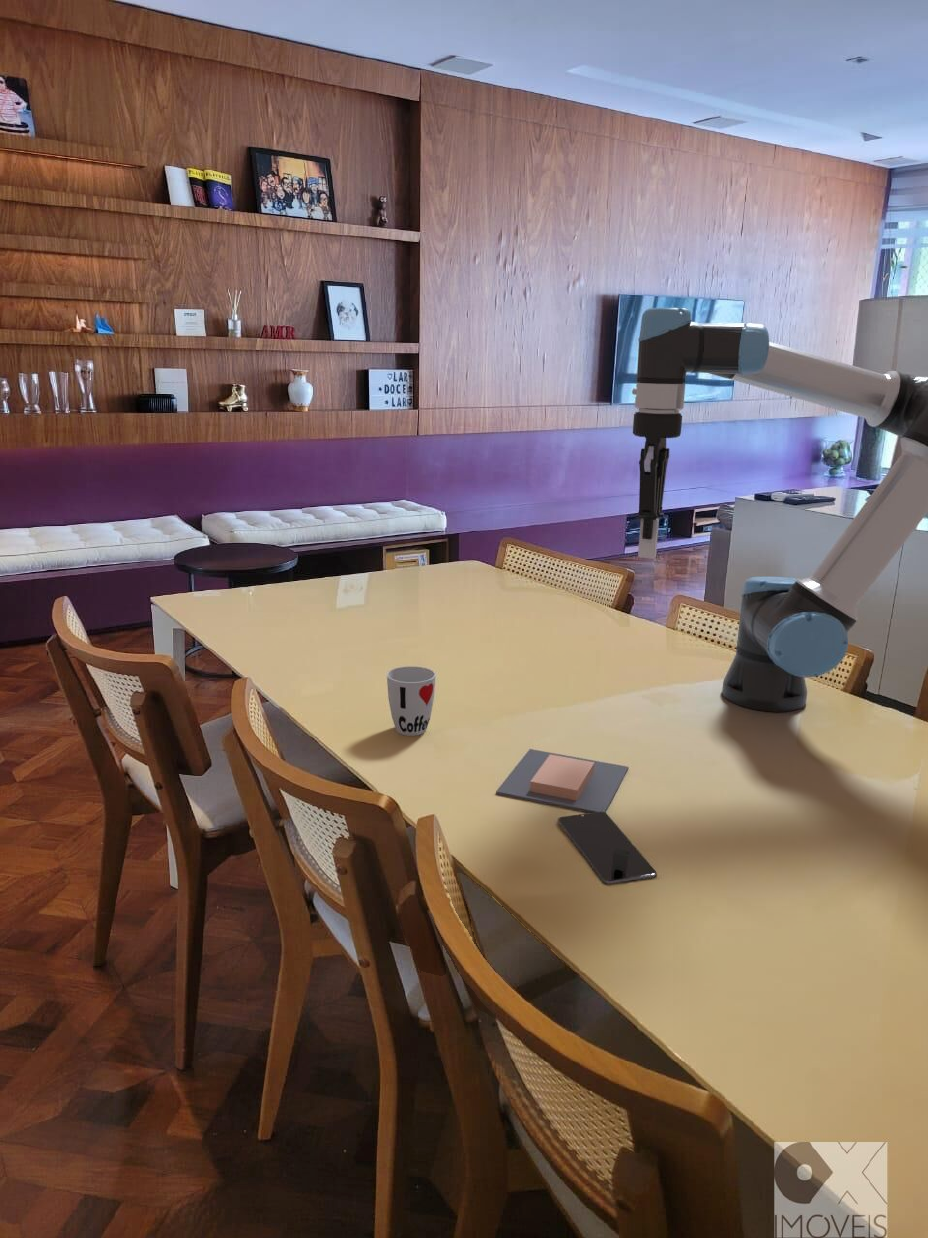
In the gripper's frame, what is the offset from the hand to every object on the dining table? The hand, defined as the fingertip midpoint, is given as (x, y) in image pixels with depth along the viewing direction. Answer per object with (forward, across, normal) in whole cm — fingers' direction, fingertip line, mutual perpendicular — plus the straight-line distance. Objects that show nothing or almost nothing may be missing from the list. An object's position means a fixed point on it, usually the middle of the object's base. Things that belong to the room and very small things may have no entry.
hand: (646, 557), depth 150 cm
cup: (+30, +19, -34) cm, 49 cm away
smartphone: (+30, +43, +5) cm, 53 cm away
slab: (+28, +23, -5) cm, 37 cm away
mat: (+29, +27, -5) cm, 40 cm away
